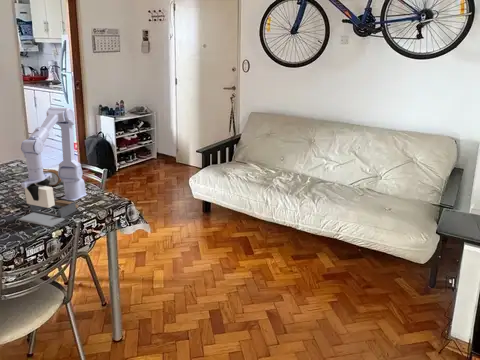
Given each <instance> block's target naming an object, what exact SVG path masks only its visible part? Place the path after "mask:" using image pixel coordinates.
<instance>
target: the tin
mask: <svg viewBox="0 0 480 360" xmlns="http://www.w3.org/2000/svg"><path fill="white" fill-rule="evenodd" d="M43 173H44V174H46V173H52V178H48V179H47V180H49V181H50V183H49V185H48V186H49V187H52V186H53V187H55V186H58V185H59V184H60V183H61V182H62V179H60V178H59V176H58V170H56V169H49V168H43ZM35 184H36V185H38V184H37V183H35Z"/></svg>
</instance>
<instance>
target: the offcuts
mask: <svg viewBox="0 0 480 360" xmlns="http://www.w3.org/2000/svg"><path fill="white" fill-rule="evenodd" d="M54 202H55V205H59V206H64V207H65V206H67V205H69V204H71V203H73V202H74V201H69V200H64V199H57V200H54ZM74 203H75V204H76V209H78V208H79V204H77V203H76V202H74Z"/></svg>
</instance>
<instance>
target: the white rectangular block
mask: <svg viewBox="0 0 480 360" xmlns="http://www.w3.org/2000/svg"><path fill="white" fill-rule="evenodd" d="M36 185H37V186H39V188H38V197H39V200H38V201H35V200H33V197H32V195H31V194H30V192H29V191H28V189H27V188H24V194H25V199H26V204H27V205H30V204H31V205H36V206H41V207H44V208H47V209H49V208H53V207H52V206H54V205H55V197H54V189H53V187H52V186H49V185H48V186H42V185H38V184H36Z"/></svg>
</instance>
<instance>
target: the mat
mask: <svg viewBox="0 0 480 360" xmlns="http://www.w3.org/2000/svg"><path fill="white" fill-rule="evenodd" d="M65 220H66V218H58V217H53V216H49V215H44V214H39V213H34V212H33V213H31V212H30V213H29V214H26V215H24V216H22V217H20V218H18V220H17V221H21V222H25V223H30V224H33V225H39V226H44V227H48V228H52V227H55V226H56V225H57V224H60V223H62V222H63V221H65Z"/></svg>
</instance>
